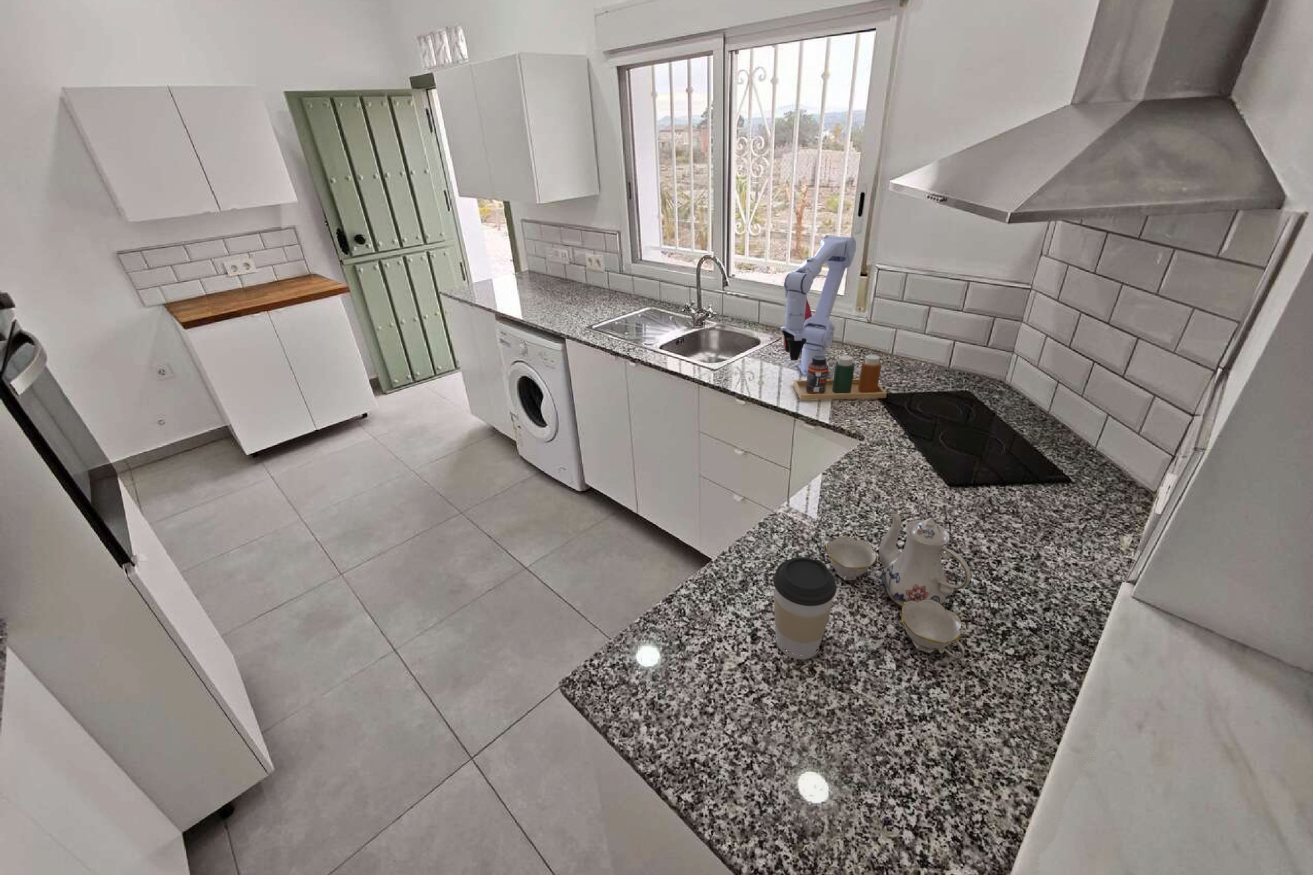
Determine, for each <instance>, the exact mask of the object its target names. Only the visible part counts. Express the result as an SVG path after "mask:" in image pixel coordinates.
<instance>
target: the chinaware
mask: <svg viewBox="0 0 1313 875" xmlns="http://www.w3.org/2000/svg"><path fill="white" fill-rule="evenodd" d="M890 514H891V516H892V524H891V526H890V527H889V529H888V530H887V532H886V533H885V535H884V536H883V537H882V539H881V540H880V544H879V549H878V556H879V560H880V562H881V564H882V567H883V568H884V569H883V570H882V572H881V573H880V580H881V582H882V584H884V586H885V591H886V594H887V596H888V597H889V599H890V600H891V601H892V602H894V603H895V604H896V605H898V606H900V607H901V615H900V618H901V623H902V625H903V626H904V629H905V632H906V634H907V636H908V637H909V639H910V640H911V641H912V643H913V645H914V646H915V648H916V649H917V650H919V651H921V652H925V653H928V654H931V653H932V652H934V651H938V653H939V654H943V653H945V652H946V653H947V655H949V656H950V657H952V658H953V659H957V660H960V659H963V657H965V654H966V651H965V647H964V645H963V644H962V643H961V642H960V641H959V640H961V636H962V631H961V629H962V620H961V617H960V616H959V615H957V614H956V613H955V612H954V611H951V610H948V609H946V608H945V607H944V606H943V605H942V604H944V603H945V601H946V597H947V596H951V595H953V593H954V591H955V590H962V589H964V588H966V587H967V586H968V585H969V584H970V582H971V578H972V574H971V569H970V567H969V565H968V563H967V561H966V560H965V559H964V558H963V556H961V555H960V554H958V553H957V552H955V551H954V550H952V549H951V548H947V547H945V545H946V544H947V543H948V542H949V541H950V534H949V532H948V530H947V529H945V528H944V527H943V526H942V525H940V524H937V523H936V522H935V521H934V519H933V518H931V517H929V518H927V519H922V520H921V519H920V520H919V519H915V520H913V521H909V522H908V523H907V524H906V525H905V531H906V539H905V543H904V548H902V551H900V550H899V549H898V546H897V542H898V538H899V536H900V533H901V530H902V519H901V516H900V514H899V513H898V512H897V510H893V509H892V510H890ZM825 549H826V550H825V551H826V553H827V555H828V557H829V560H830V564H831V566H832V567H833V569H834V570H835V571H836V572H837V573H836V575H838V576H839V577H840V578H842V579H843V580H844V581H856V579H857V577H860V576H862V575H863V574H865V573H867V571H868V570H869V568H871V566H872V565H874V564H875V563H876V562H877V561H878V556H877V554H876V553H875V552H874V549H873V546H872V545H871V544H870V543H869V542H868V541H866V540H863V539H861V540H860V539H857V540H856V539H855V538H853V537H852V536H848V535H841V536H838V537H836V538H835V539H834V540H829V541H828V542H827V543H826V544H825ZM951 557H953V558H954V559H955V560H956V561H957V562H958V563H959V564H960V565H961V567H962V568H963V571H964V575H965V576H964V577H965V578H964V581H963V582H962V583H961V584H953V583H951V582H950V579H949V578H948V577H947V574H946V573H945V570H944V568H943V564H942V559H943V560H950V558H951ZM951 643H953V646H957V645H958V646H959V648H960V651H961V655H956V654H953V653H952V652H950V651H949V649H947V648H946V647H948V646H949V645H950V644H951Z"/></svg>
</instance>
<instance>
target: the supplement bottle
mask: <svg viewBox="0 0 1313 875" xmlns="http://www.w3.org/2000/svg"><path fill="white" fill-rule="evenodd" d="M828 375H829V364H828V363H827V357H826V355H825V356H820V355H816V356H813V358H812V362H811V363H810V364H809V366H808V375H806V376H807V377H806V380H807V384H806V391H807V392H808V393H810V394H823V393H824V392H825V390H826V383H827V380H828Z"/></svg>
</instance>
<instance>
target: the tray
mask: <svg viewBox="0 0 1313 875" xmlns="http://www.w3.org/2000/svg"><path fill="white" fill-rule="evenodd" d="M859 379H860V378H853V380H852V387H851V393H834V392H833V391H832V387H833V379H827V383H826V390H825V392H824V393H823V394H810V393H808V392H807V391H806V384H807V379H801V380H800V379H799V380H795V379H794V380H793V383H792V384H793V388H794V389H795V392H796V393H797V396H798V397H799V398H798V399H799V400H800V401H810V400H811V401H813V400H815V401H816V400H850V399H851V400H853V399H854V400H856V399H857V400H858V399H859V400H860V399H861V400H862V399H886V398H887V396H888V395H887V394H888V392H887V391H886V390H885V389H884V388H883V387H882V386H881V384H880V382H879V383H878V389H877V392H876V393H861V392H860V391H858V386H859Z"/></svg>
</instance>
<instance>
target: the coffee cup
mask: <svg viewBox="0 0 1313 875" xmlns="http://www.w3.org/2000/svg"><path fill="white" fill-rule="evenodd" d="M772 579H773V586H774V589H773V610H774V611H773V613H774V614H773V615H774V625H775V644H776V646H777V647H778V649H779V650H780V651H781V652H782V653H783V654H784V655H786V656H788V657H790V658H791V659H794V660H804V661H805V660H809V659H812V658H813V657H815V656H816V655H817V654H818V653H819V650H820V647H819V646H821V643H822V641H823V640H822V639H823V636H824V634H825V632H826V629H827V623H828V621H829V617H830V614H831V610H832V606H833V602H834V601H833V600H834V599H833V598H834V597H835V595H836V593H837V582H836V579H835V576H834V575H833V573H832V572H831V571H830V570H829V569H828V567H827V565H826V564H825V563H824V562H823V561H821V560H820V559H815V558H814V559H813V558H810V557H805V556H797V557H796V556H795V557H792V558H790V559H786V560H785V561H783V562H781V563H780V564H779V565H778V566H777V567H776V569H775V572H774V575H773V577H772ZM776 638H777V639H776ZM778 642H779V643H778ZM780 645H781V646H782V647H783V648H784V649H783V648H782V647H781V646H780ZM785 649H786V650H787V651H786V650H785ZM817 649H818V650H817ZM816 650H817V651H816ZM788 651H789V652H788ZM815 651H816V652H815ZM790 652H791V653H790ZM792 653H794V654H792ZM812 653H813V654H812ZM795 654H798V655H795ZM809 654H810V655H809ZM800 655H805V656H800Z"/></svg>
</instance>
